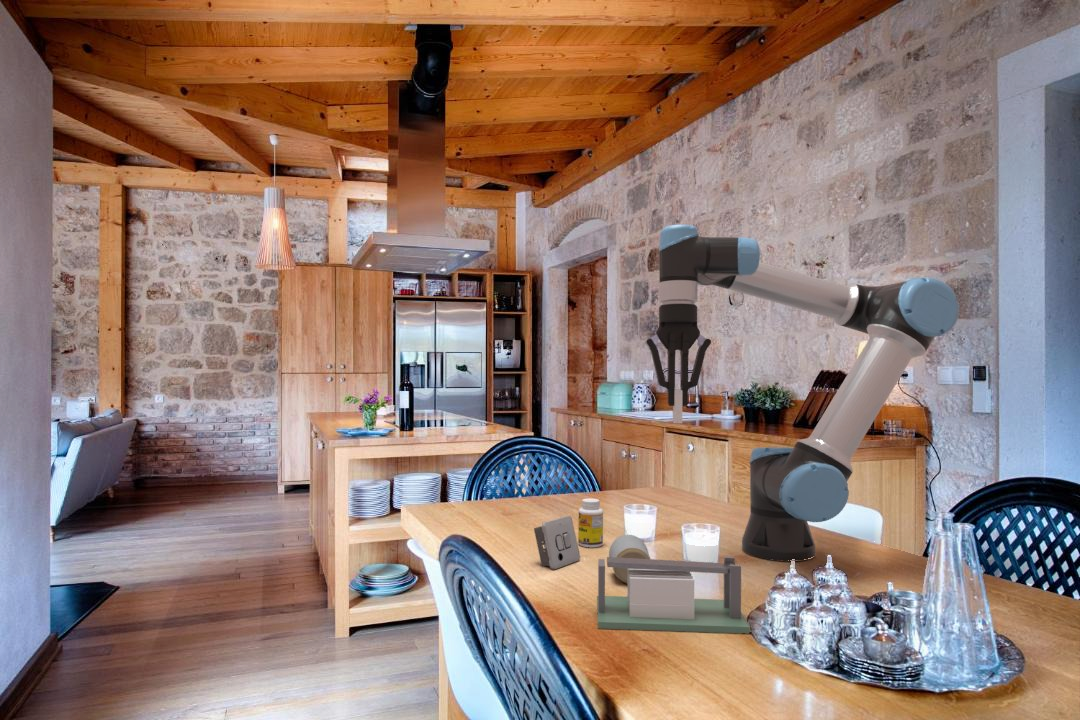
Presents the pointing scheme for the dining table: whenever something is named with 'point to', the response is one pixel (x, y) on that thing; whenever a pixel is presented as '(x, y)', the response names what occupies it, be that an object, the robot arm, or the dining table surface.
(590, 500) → the supplement bottle
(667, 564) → the grey retaining bar
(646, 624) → the base
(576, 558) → the electrical switch
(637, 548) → the ceramic mug
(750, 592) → the dining table surface
